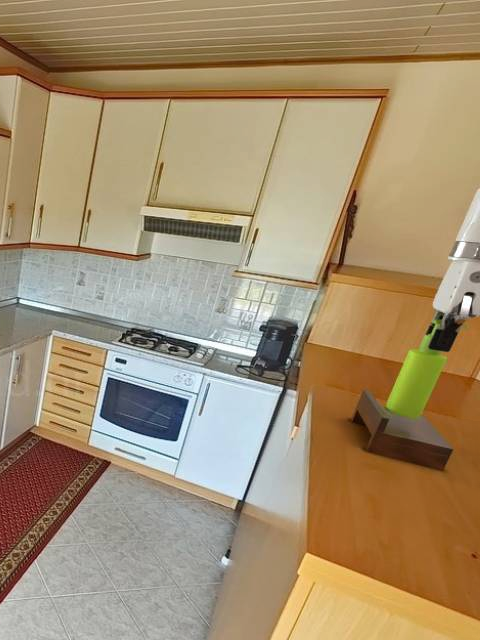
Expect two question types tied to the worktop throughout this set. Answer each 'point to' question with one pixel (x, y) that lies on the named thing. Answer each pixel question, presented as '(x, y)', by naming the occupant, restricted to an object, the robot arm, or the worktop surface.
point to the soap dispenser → (417, 378)
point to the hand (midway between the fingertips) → (435, 347)
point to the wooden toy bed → (401, 435)
